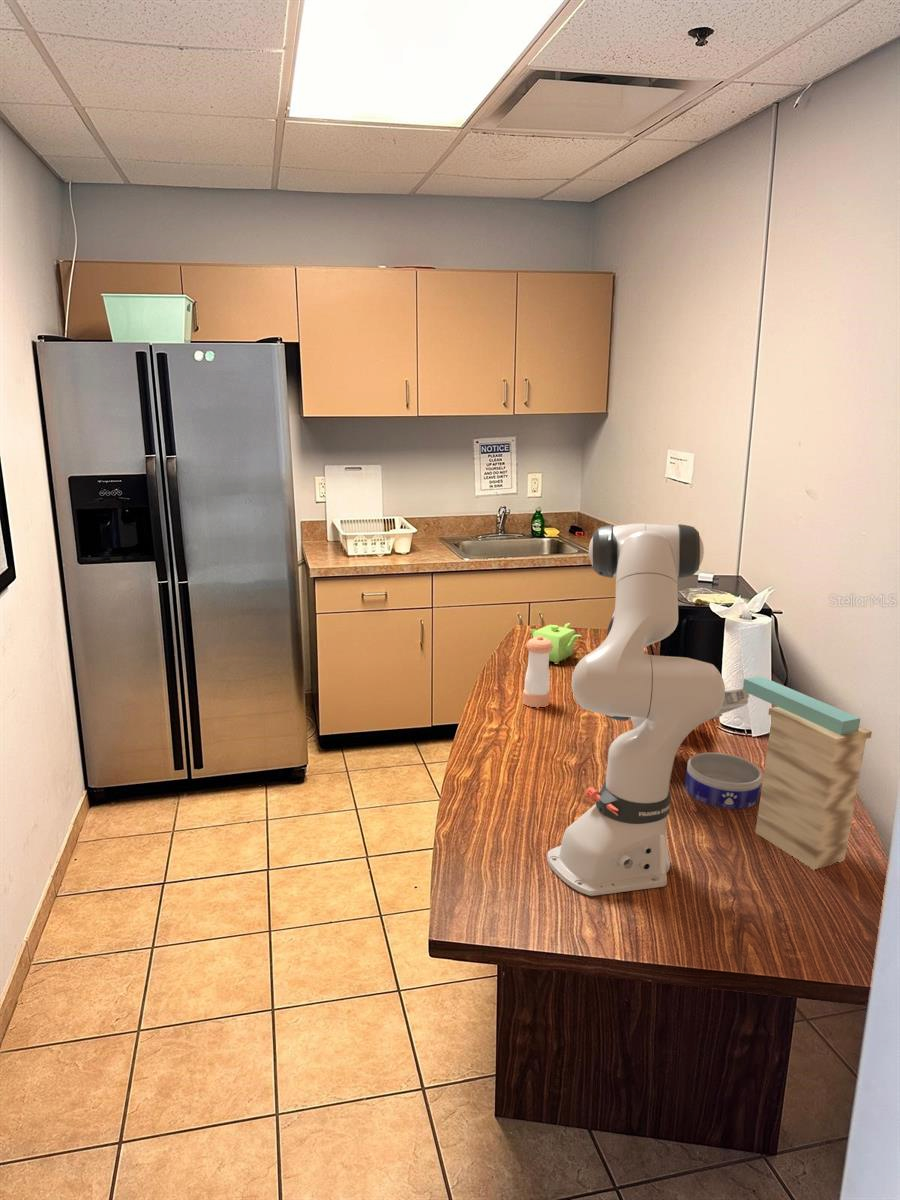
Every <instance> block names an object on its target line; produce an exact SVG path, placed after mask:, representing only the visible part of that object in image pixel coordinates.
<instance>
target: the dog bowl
mask: <svg viewBox="0 0 900 1200" xmlns="http://www.w3.org/2000/svg"><path fill="white" fill-rule="evenodd" d="M686 765H687V766H686V767H687V768H686V776H685V777H686V778H685V788H686V791H687V793H688V794H689V795H690V796H691V797H693V798H694V799H695V800H698V801H699V802H701V803H703V804H705V803H706V805H708V804H709V806H712V807H714V806H716V807H715V808H718V807H720V809H724V808H726V809H727V810H744V809H748V808H751V807H753V806H755V805H756V804H757V803H758V801H759V797H760V795H761V789H762V782H763V772H762V771H761V769H760V767H758V766H757V765H756V764H754V763H753V762H751V761H749V760H747V759H745V758H743V757H741V756H736V755H733V754H729V753H721V752H712V751H711V752H700V753H696V754H694V755H691V757H690V756H689V758H688V760H687V764H686ZM726 809H725V810H726Z"/></svg>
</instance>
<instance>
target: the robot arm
mask: <svg viewBox="0 0 900 1200" xmlns="http://www.w3.org/2000/svg"><path fill="white" fill-rule="evenodd" d="M703 542H704V541H703V540H702V538H701V536H700V532H699V531H698V530H697V528H695V526H693V525H692V526H691V525H686V524H680V523H679V524H678V525H673V524H662V523H661V524H660V523H645V522H642V523H628V524H619V525H614V526H613V524H608V525H604V526H600V527H598V528H597V529H596V530H595V531H594V532H593V533H592V537H591V539H590V541H589V545H588V558H589V562H590V564H591V566H592V568H593V571H594V572H595V573H596V574H597V575H599V576H601V577H605V578H611V579H613V577H615V602H614V611H613V614H612V616H611V618H610V621H609V624H608V627H607V632H606V638H605V639H604V640H603V641H602V642H601V644H599V646H597V647H596V648H595V649H594V650H592V651H591V652H589V653H587V654H586V655H584V656H583V657H582V658H581V659H580V660H579V661H578V663H576V666H575V667H574V670H573V672H572V675H571V690H572V693H573V696H574V700H576V703H578V705H579V706H580V708H581V709H582V710H586V711H590V712H593V713H596V714H600V715H604V716H606V717H607V718H609V719H612V720H615V721H620V722H626V721H629V720H631V723H632V724H633V726H634V727H635V728H632V729H630V730H628V731H625V732H623V733H621V734H619V735H618V736H617V737H616V738H614V740H613V742H612V743H611V744H610V745H609V748H608V755H607V765H606V776H605V781H604V782H603V784H602V786H601V788H600V791H598V790H596V789H595V788H594V787H592V786H590V787H588V788H587V789H586V790H585V793H584V794H585V796H586V798H588V799H590V800H591V802H595V803H594V805H593V806H591V807H590V808H589V809H588V810H587V811H585V812H584V813H583V814H582V815H580V817H578V818H577V819H576V820H575V821H573V822H572V823H571V824H570V825H569V826H567V828H566V829H565V830H564V832H563V836H562V839H561V843H560V845H558V846H556V847H554V848H551V849H549V850H548V851H547V853H546V860H547V864H548V866H549V867H550V869H551V870H552V871H553V873H554V874H555V875H556V876H557V877H558V878H559V879H560V880H562V881H563V882H564V883H565V884H566V885H567V886H569V887H571V888H572V889H574V890H576V891H577V892H578V893H582V894H584V895H587V896H589V897H593V896H602V895H609V894H617V893H622V892H623V893H624V892H631V891H639V890H647V889H655V888H662V887H666V886H667V885H668V877H667V873H668V872H669V871H670V868H671V861H670V856H669V852H668V851H669V850H668V839H667V817H668V815H669V814H670V808H671V797H672V794H671V790H670V784H671V778H672V777H671V776H672V771H673V766H674V761H675V757H676V754H677V753H678V750H679V748H680V746H681V744H682V743H683V742H684V740H685V739H686V738H687V737H688V735H690V733H691V732H692V731H693V730H694V729H696V728H697V727H699V726H700V725H702V724H704V723H706V722H707V721H711V720H714V719H717V718H720V717H722V716H723V714H725V713H728V712H730V711H733V710H737V709H739V708H742V707H744V706H746V705H748V703H749V698H750V694H749V693H747V692H744V691H743V687H735V688H734V687H733V688H727V689H726V686H725V681H724V679H723V677H722V675H721V673H720V671H719V669H718V668H717V667H716V666H715V665H714V664H713V663H710V662H706V661H702V660H698V659H694V658H690V657H684V656H669V655H666V656H665V655H656V654H655V655H652V654H648V653H645V652H644V649H645V648H647V647H649V646H651V645H653V644H656V643H659V642H661V641H662V640H664V639H666V638H668V637H670V636H671V634H673V633H674V631H675V630H676V628H677V626H678V624H679V597H678V596H679V595H678V594H679V592H678V579H684V578H689V577H691V576H694V575H695V574H696V573H697V572H698V571H699V570H700V566H701V564H702V562H703V560H704V554H705V551H704V550H705V547H704V543H703Z"/></svg>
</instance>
